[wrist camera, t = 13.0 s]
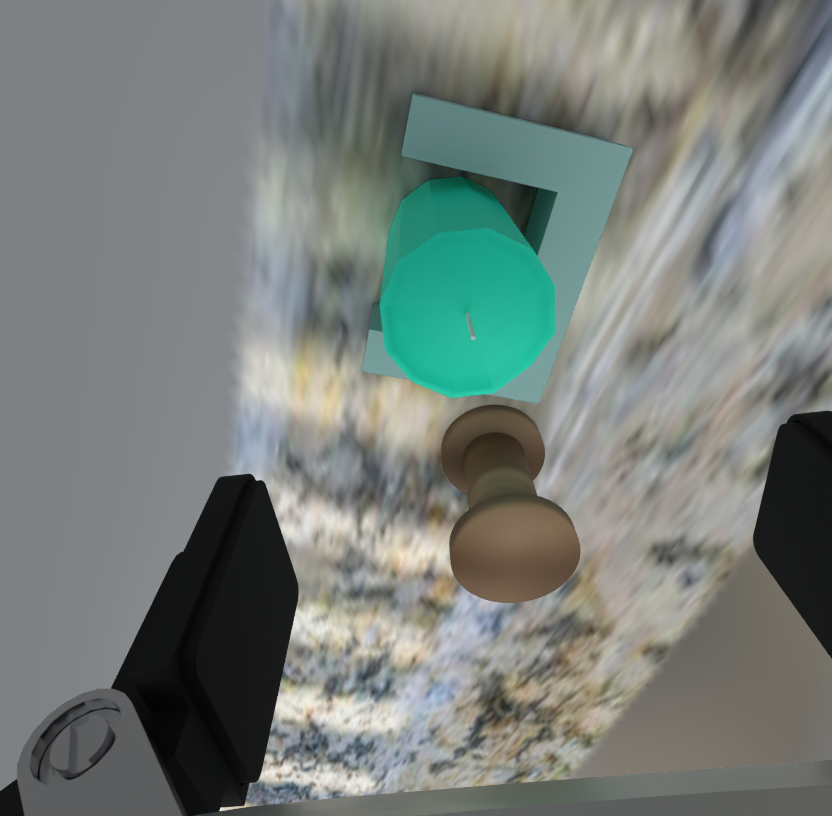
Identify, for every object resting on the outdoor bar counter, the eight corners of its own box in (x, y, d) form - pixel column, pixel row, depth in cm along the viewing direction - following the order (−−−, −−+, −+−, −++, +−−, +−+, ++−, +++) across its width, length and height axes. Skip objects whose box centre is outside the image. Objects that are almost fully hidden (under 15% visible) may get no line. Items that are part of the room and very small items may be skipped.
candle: (414, 315, 30) (416, 442, 20) (369, 203, 27) (344, 283, 17) (524, 275, 29) (589, 387, 19) (490, 155, 26) (543, 207, 16)
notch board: (412, 92, 25) (412, 94, 22) (607, 140, 26) (633, 148, 23) (366, 341, 31) (361, 371, 28) (526, 372, 32) (538, 403, 29)
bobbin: (436, 411, 33) (444, 515, 25) (540, 399, 33) (581, 501, 25) (446, 492, 36) (456, 608, 28) (542, 482, 36) (579, 596, 28)
